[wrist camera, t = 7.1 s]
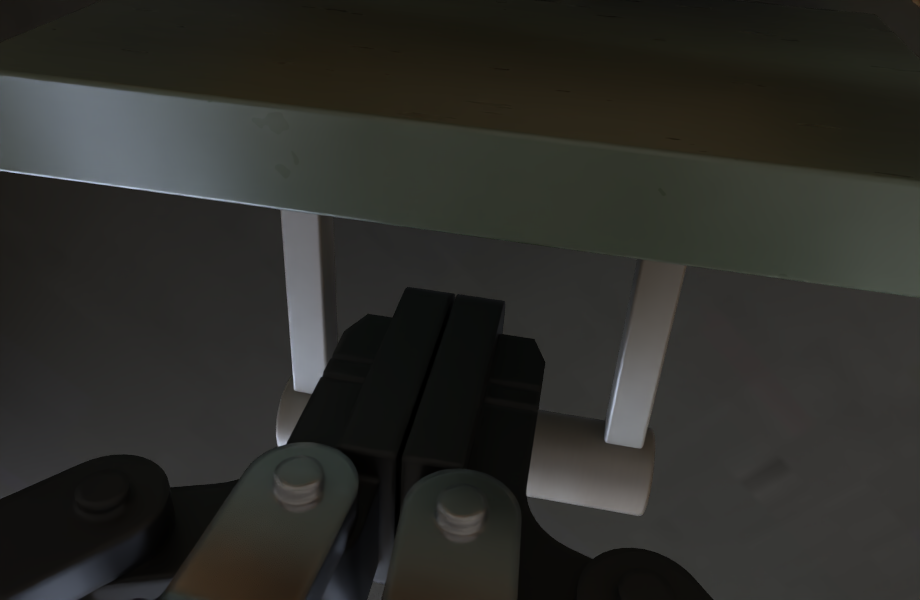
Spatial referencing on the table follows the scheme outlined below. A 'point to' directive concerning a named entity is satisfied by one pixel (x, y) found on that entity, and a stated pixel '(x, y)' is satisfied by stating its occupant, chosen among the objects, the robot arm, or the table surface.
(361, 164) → the drawer
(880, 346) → the table surface
